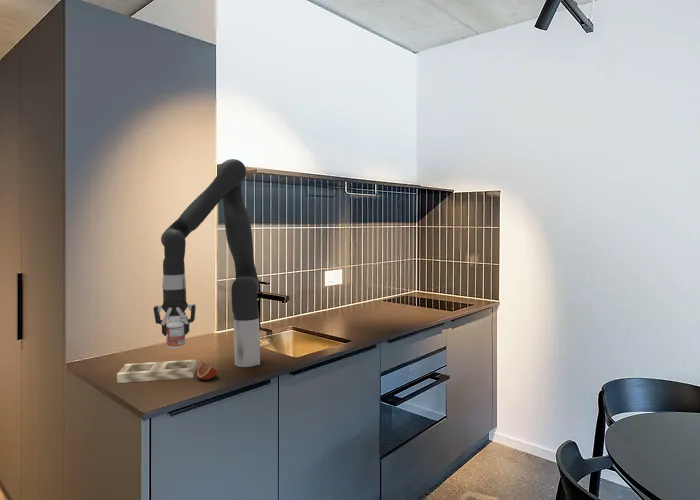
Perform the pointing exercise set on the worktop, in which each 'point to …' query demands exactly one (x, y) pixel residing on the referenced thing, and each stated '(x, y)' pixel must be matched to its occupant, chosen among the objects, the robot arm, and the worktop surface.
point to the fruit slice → (206, 371)
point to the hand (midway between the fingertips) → (175, 334)
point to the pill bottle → (175, 332)
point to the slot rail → (157, 371)
